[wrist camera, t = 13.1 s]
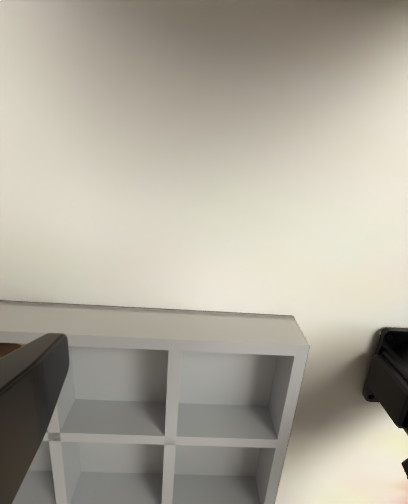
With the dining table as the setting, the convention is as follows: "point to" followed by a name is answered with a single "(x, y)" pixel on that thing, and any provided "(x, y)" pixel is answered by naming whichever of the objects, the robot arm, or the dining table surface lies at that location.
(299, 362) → the tray
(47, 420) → the robot arm
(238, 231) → the dining table surface
